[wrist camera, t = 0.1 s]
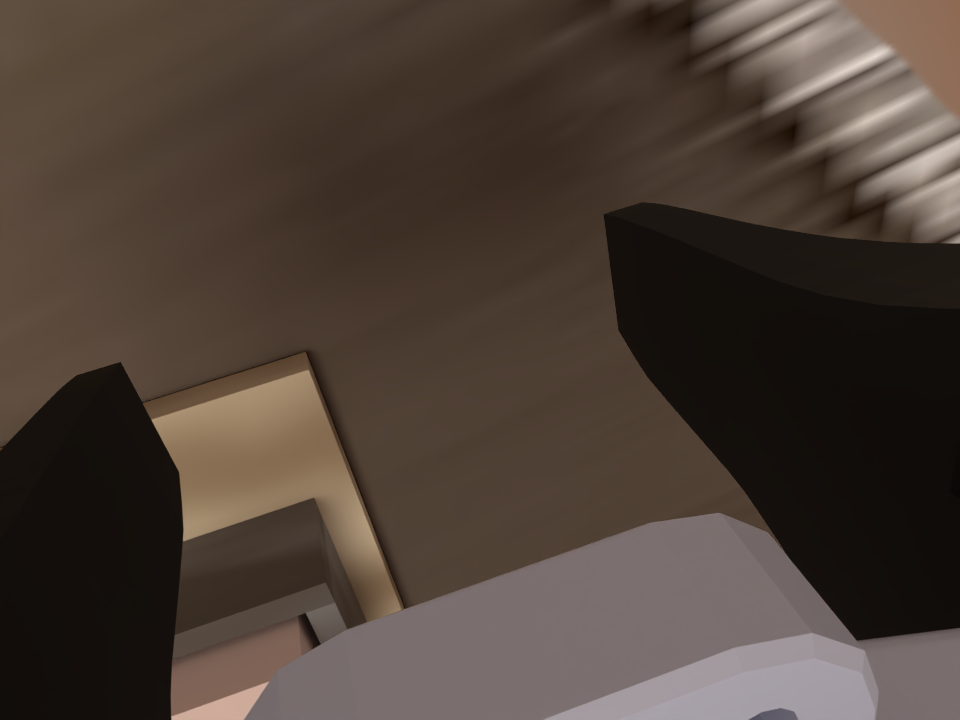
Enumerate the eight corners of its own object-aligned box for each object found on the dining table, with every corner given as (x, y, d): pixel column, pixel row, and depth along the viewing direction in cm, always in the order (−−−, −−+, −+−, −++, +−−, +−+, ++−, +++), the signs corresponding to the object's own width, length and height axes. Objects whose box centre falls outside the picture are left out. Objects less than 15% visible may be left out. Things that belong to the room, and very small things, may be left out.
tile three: (341, 683, 25) (353, 769, 23) (200, 735, 25) (197, 827, 23) (294, 588, 23) (303, 672, 21) (138, 643, 23) (127, 735, 20)
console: (430, 678, 31) (458, 788, 27) (-84, 866, 29) (-129, 1013, 25) (305, 351, 23) (321, 444, 19) (-420, 580, 21) (-561, 734, 17)
